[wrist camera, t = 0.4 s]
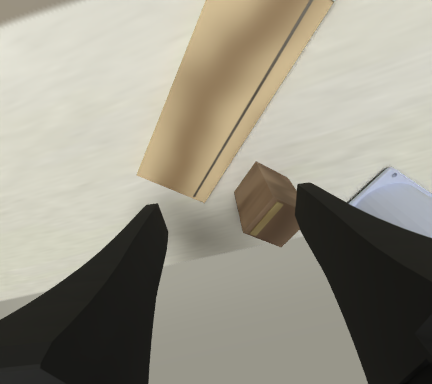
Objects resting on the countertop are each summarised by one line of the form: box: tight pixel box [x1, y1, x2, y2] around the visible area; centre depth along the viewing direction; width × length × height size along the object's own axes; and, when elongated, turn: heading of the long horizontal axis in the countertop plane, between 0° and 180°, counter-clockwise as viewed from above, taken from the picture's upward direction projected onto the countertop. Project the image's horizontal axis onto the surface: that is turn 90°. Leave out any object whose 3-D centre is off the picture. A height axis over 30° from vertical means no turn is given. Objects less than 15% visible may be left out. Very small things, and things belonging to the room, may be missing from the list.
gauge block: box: [234, 162, 300, 247], centre depth 19 cm, size 4×4×6 cm
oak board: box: [137, 0, 335, 203], centre depth 15 cm, size 7×22×1 cm, turn 151°
